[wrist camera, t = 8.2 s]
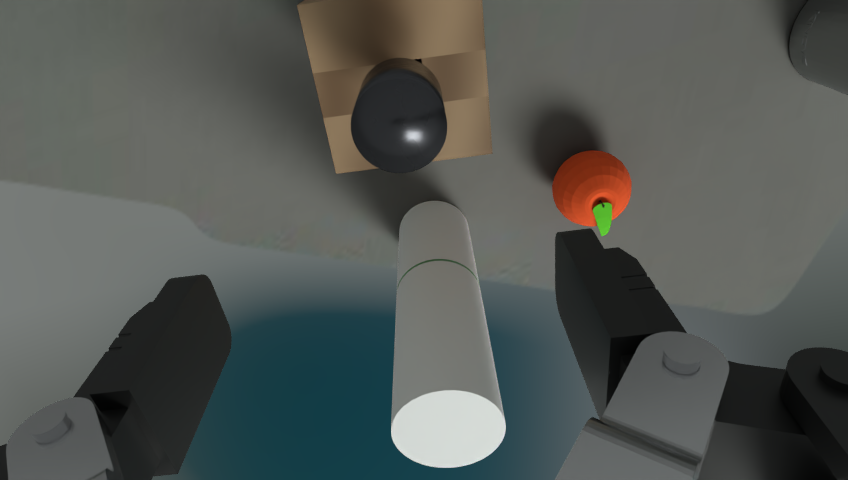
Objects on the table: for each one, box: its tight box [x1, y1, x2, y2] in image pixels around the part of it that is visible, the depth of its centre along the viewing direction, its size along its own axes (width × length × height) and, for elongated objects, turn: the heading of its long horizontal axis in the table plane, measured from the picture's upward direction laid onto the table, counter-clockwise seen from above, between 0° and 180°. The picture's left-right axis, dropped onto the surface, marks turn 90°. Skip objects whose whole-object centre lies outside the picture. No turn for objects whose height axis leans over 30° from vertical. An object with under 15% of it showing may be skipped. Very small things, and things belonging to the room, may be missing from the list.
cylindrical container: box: [391, 201, 506, 468], centre depth 44 cm, size 7×7×25 cm
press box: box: [297, 0, 492, 174], centre depth 36 cm, size 12×12×19 cm
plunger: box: [351, 58, 447, 173], centre depth 32 cm, size 7×7×24 cm
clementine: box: [552, 150, 631, 236], centre depth 49 cm, size 8×7×7 cm
